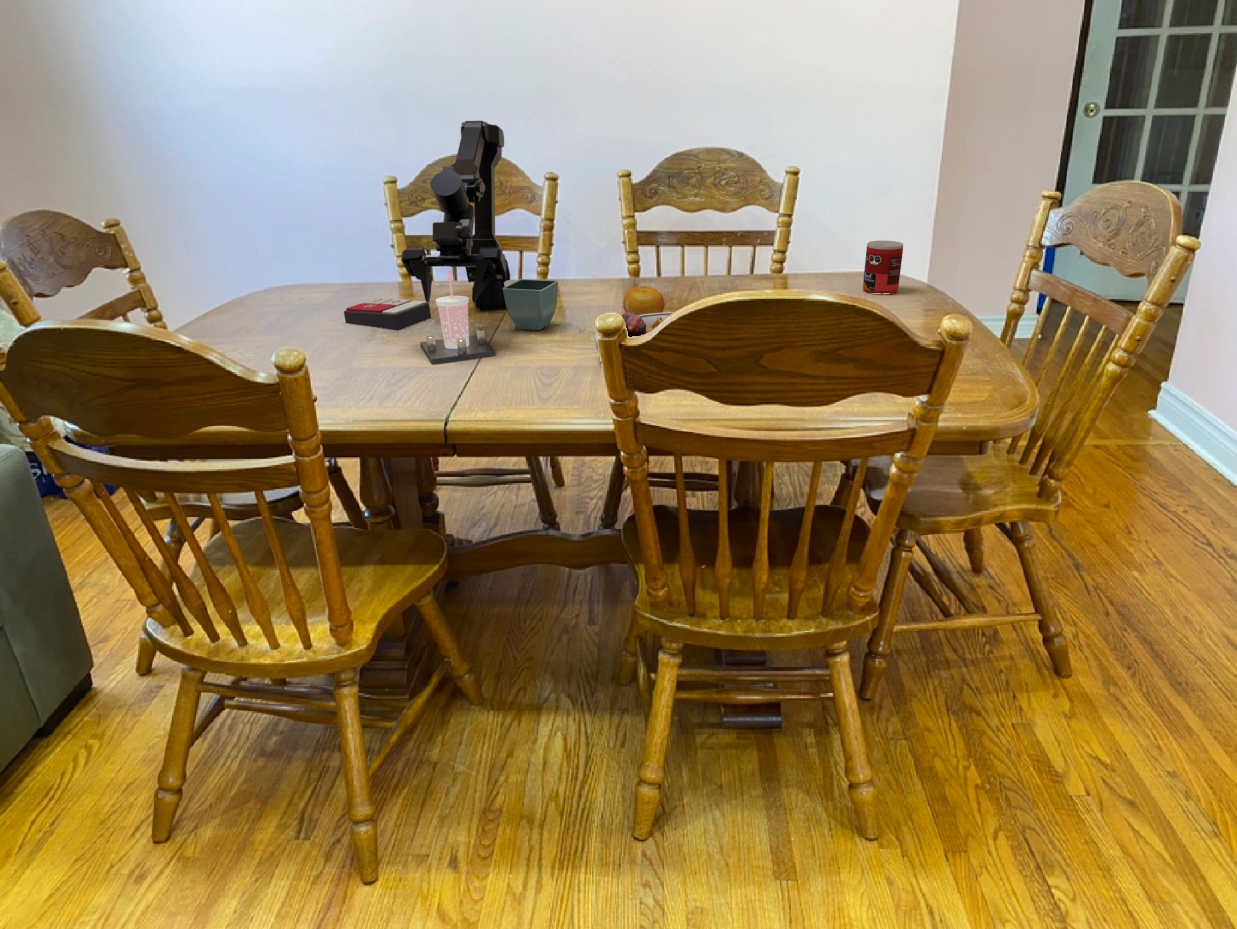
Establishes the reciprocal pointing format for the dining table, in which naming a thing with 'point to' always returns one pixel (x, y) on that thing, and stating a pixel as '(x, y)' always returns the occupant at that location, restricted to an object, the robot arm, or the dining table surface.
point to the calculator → (388, 313)
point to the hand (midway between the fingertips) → (450, 301)
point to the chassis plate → (443, 355)
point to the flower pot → (531, 302)
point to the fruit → (644, 301)
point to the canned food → (882, 266)
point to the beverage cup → (453, 318)
